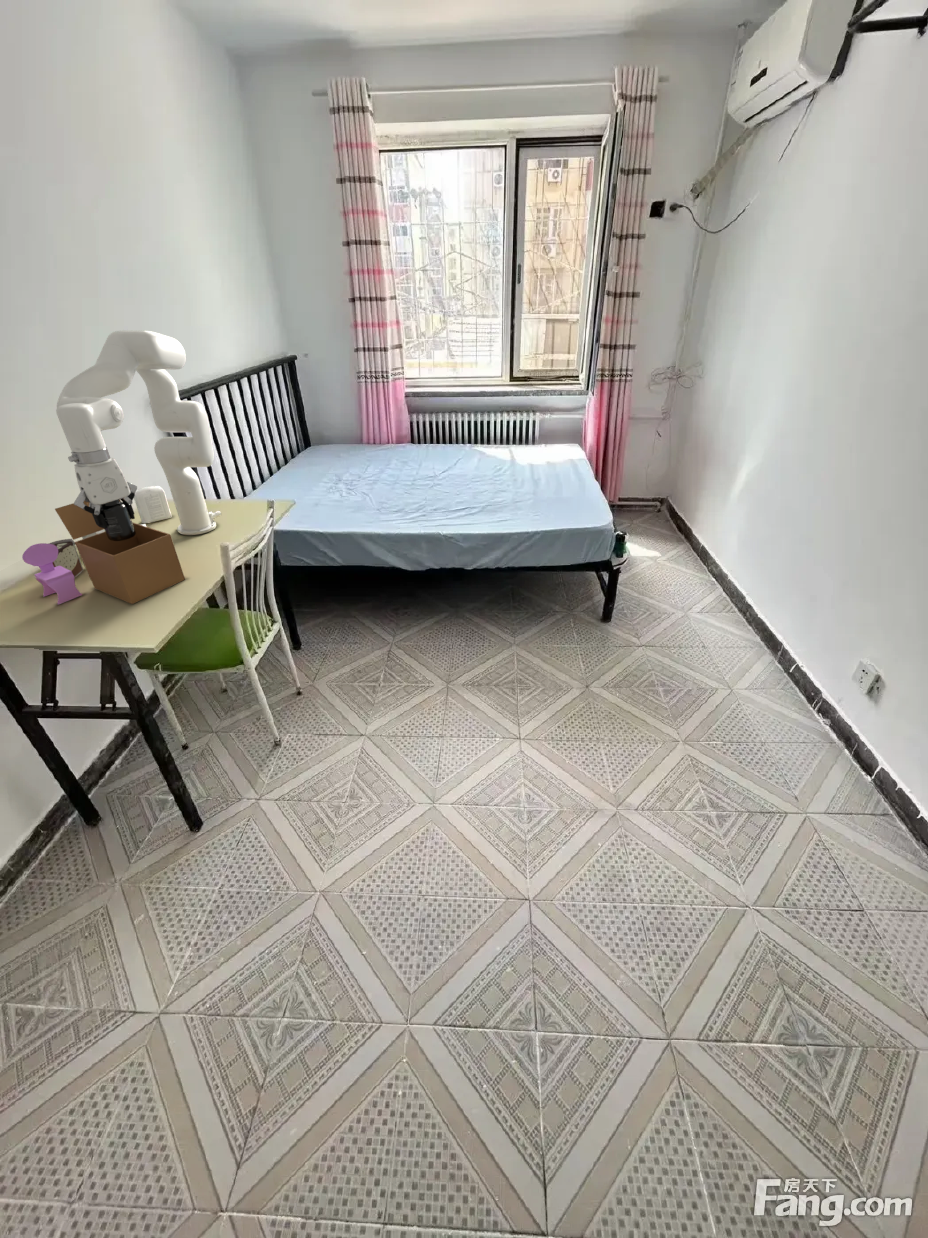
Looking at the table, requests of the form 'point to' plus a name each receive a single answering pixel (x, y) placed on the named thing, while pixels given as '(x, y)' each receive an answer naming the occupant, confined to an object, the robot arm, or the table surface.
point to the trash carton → (131, 563)
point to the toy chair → (51, 572)
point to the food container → (67, 556)
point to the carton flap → (78, 520)
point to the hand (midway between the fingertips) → (117, 522)
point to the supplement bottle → (117, 521)
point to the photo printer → (152, 504)
